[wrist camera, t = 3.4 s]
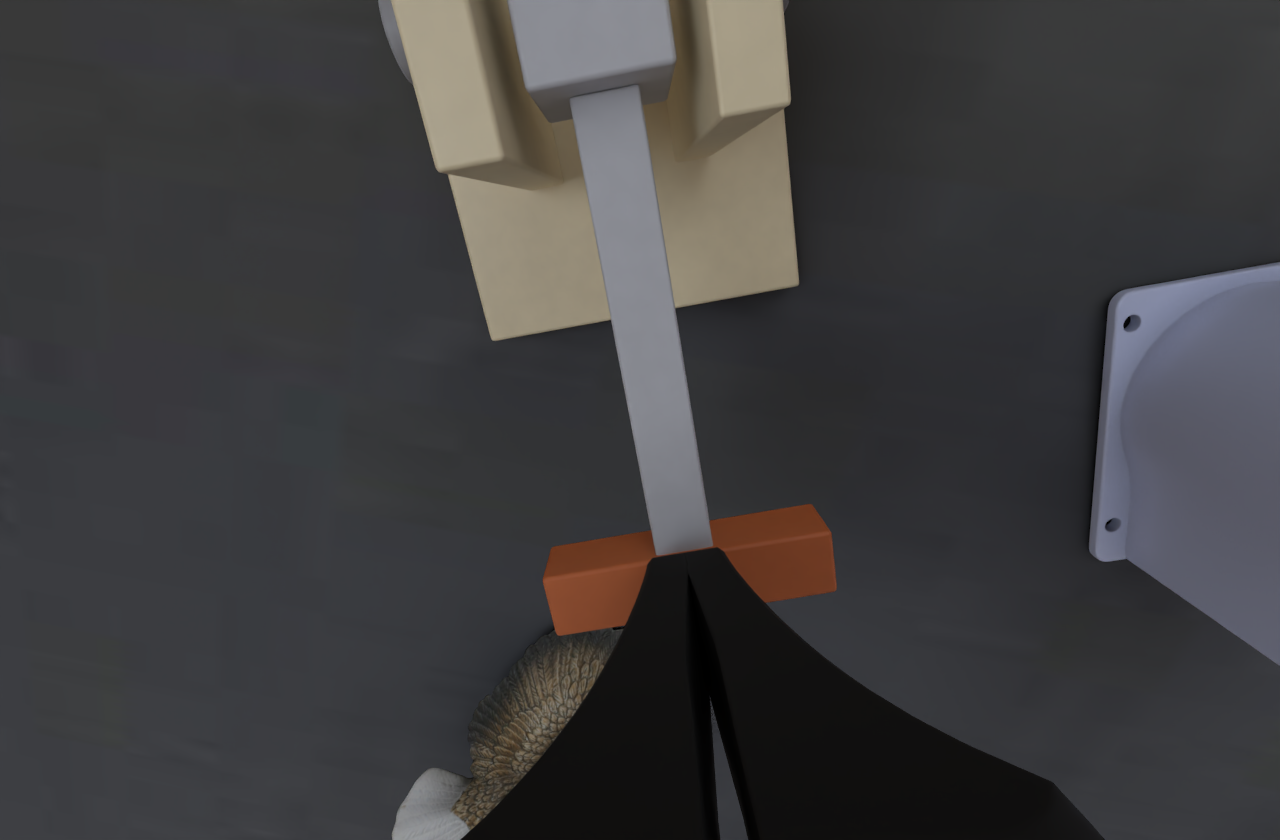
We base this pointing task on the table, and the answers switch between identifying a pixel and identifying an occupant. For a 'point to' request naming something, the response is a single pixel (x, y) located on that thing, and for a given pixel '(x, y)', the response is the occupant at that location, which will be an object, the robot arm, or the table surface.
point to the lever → (643, 318)
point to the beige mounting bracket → (552, 172)
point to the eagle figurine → (507, 735)
